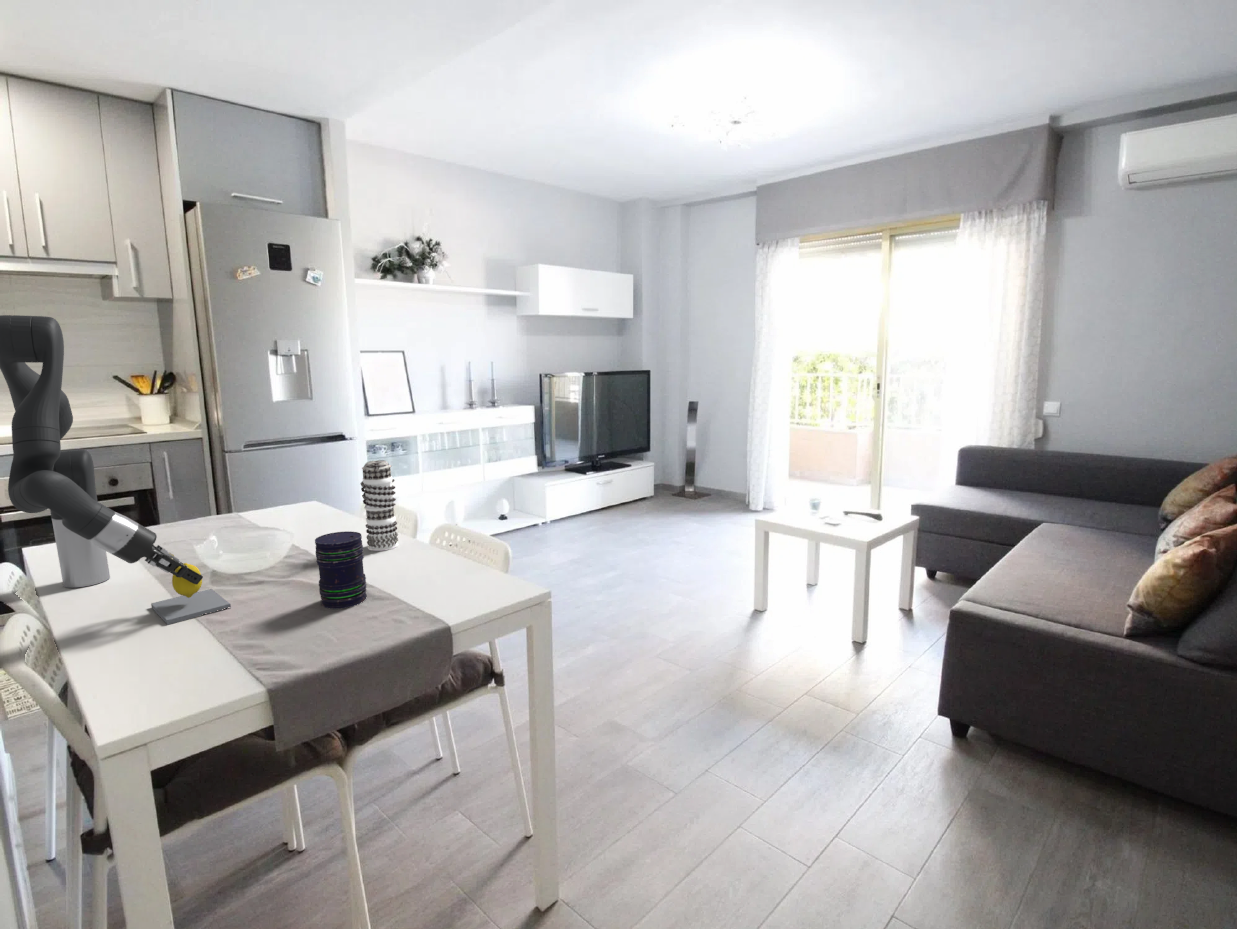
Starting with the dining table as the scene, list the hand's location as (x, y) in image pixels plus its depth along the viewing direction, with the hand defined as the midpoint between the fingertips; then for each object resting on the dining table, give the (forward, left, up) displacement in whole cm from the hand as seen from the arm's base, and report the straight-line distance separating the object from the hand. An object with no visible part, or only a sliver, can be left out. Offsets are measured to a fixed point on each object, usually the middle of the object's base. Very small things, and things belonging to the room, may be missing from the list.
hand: (195, 577), depth 147 cm
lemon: (0, -2, -4) cm, 5 cm away
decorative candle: (-11, +49, -7) cm, 51 cm away
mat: (0, -2, -7) cm, 7 cm away
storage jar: (+22, +23, -7) cm, 33 cm away
